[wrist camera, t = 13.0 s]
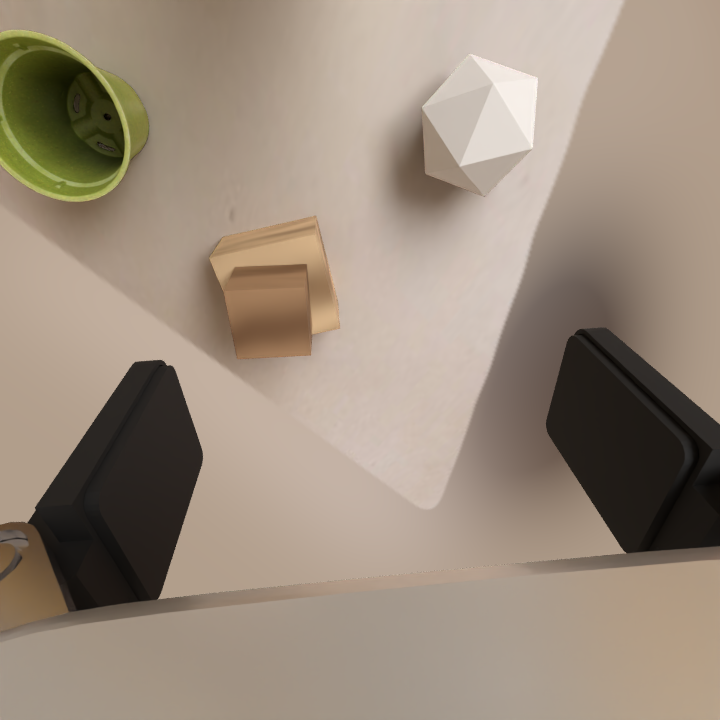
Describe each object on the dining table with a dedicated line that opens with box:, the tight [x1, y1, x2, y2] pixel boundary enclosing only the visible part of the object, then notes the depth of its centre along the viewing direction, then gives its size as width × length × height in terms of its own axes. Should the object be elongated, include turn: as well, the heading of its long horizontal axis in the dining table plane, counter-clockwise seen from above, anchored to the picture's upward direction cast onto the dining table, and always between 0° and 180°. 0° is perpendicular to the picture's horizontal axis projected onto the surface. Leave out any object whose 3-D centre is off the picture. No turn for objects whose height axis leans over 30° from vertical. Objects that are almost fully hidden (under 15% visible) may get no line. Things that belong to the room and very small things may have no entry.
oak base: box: [209, 216, 340, 334], centre depth 40 cm, size 9×9×6 cm
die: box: [422, 54, 538, 197], centre depth 33 cm, size 8×9×10 cm
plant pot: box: [0, 30, 149, 202], centre depth 30 cm, size 9×9×9 cm
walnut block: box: [223, 264, 312, 359], centre depth 35 cm, size 6×6×5 cm
